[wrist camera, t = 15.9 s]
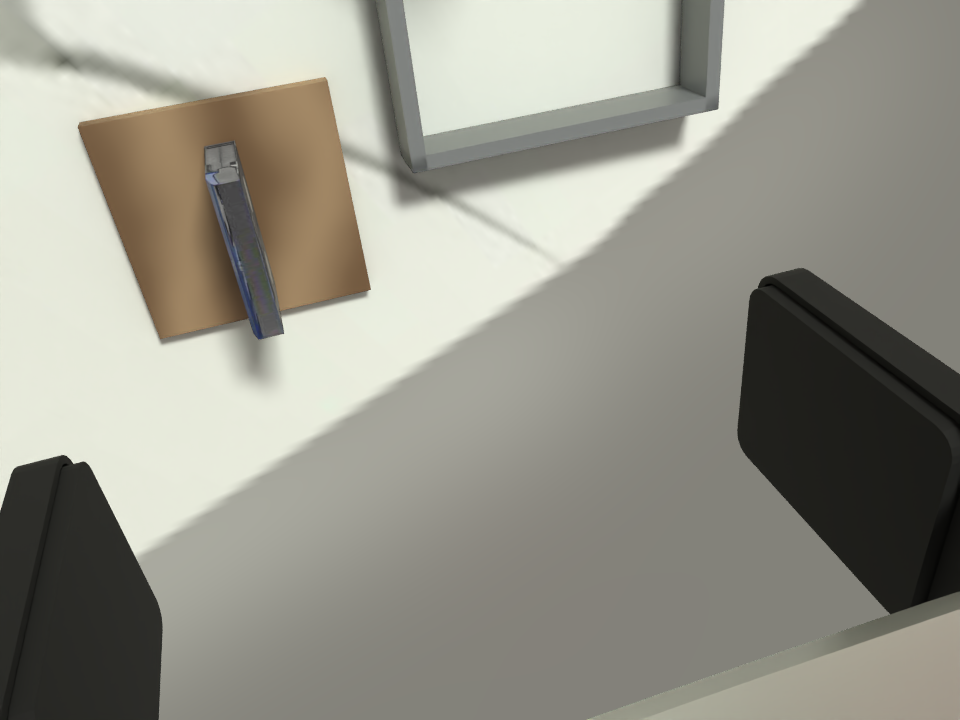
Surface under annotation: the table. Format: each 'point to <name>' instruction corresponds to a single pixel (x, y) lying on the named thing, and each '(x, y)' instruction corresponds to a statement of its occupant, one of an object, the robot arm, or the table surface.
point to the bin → (561, 124)
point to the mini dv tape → (243, 237)
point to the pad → (190, 212)
